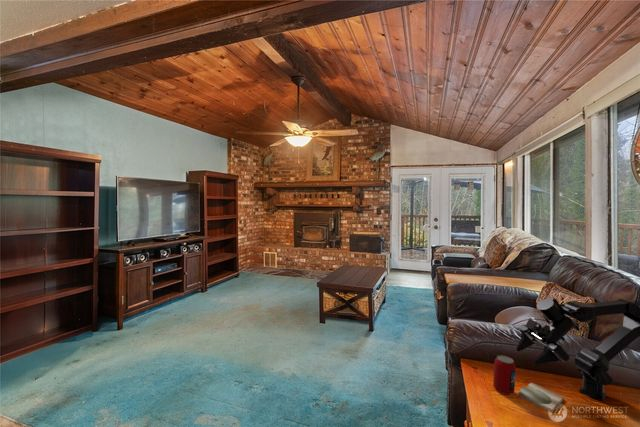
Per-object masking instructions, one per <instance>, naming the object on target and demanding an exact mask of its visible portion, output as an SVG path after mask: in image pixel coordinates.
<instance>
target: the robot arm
mask: <svg viewBox="0 0 640 427" xmlns="http://www.w3.org/2000/svg"><path fill="white" fill-rule="evenodd" d="M536 308H537V310H539V311H540V313H542V315H543V316H544V317H545V318H546V319H547V320H549V322H548V323H546V322H543V323H539V322H537V321H536V320H533V319H531V318H529V319H528V320H527V322H526V324H521V325H520V326H519V327H518V329H519V332H520V335H521V336H520V339H519V341H518V343H517V346H516V351H517V352H521V351H523V350H526V349H527V348H529V347H531V346H532V345H535V344H536V343H535V342H538V343H540V344H542V345H543V351H542V352H541V353H540V354H539V355H538V356H537V357H536V358H535V359H534V360H533V362H532V363H533V364H534V365H540V364H541V365H542V364H546V363H554V362H560V363H561V362H564V363H566V362H568V361H569V360H570V354H569V353H568V352H567V351H566V350H565V348H563V346H562V345H560V344H558V342H559V341H562V342H564V341H565V340H566V338H565V336H566V335H567V334H569V333H570V331H572V330H575V331H576V332H580V329H581V328H580V326H579V325H580V324H579V323H578V322H580V323H586V322H591V321H593V320H595V319H596V318H597V317H601V316H602V317H603V316H611V315H620V314H621V315H623V322H622V324H623V325H622V326H620V327H619V328H618V329H617V330H616V331H614V332H613V333H612V334H611V335H610V336H608V337H607V338H606V339H604V340H603V342H602V343H600V344H599V345H598V346H597V347H596V348H594V349H588V348H586V347H584V348H582V349H581V350H580V351H579V352H577V353H575V355H576V356H575V357H574V365H575V367H576V369H577V371H578V372H580V373H581V374H582V385H581V387H580V388H579V389H578V392H579V391H580V392H579V393H582V394H584V395H586V396H589V397H590V398H594V399H596V400H598V401H601V402H603V401H604V400H605V399H606V396H607V393H605V392H604V388H605V386H608V385H611V384H612V382H613V381H614V379H613V378H612V376H611V375H609V373H608V371H609V368H610V361H611V360H613V359H614V358H615V357H616V356H618V354H619V355H620V353H621V352H622V351H623V350H625V349H626V348H627V347H629V345H630V344H632V343H633V342H634V341H636V339H637V338H639V337H640V306H639V305H638V304H636V303H635V302H634V301H629V300H627V299H624V298H618V299H616V300H606V301H597V302H589V303H587V302H586V303H585V302H582V301H572V300H571V301H570V300H569V301H566V302H565V303H561V304H560V303H559V302H558V300H557V299H556V298H555V297H552V296H550V297H548V298H544V299H541V300H539V301H538V302H537V303H536ZM575 320H576V321H578V322H576V321H575Z"/></svg>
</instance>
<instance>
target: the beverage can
mask: <svg viewBox="0 0 640 427" xmlns="http://www.w3.org/2000/svg"><path fill="white" fill-rule="evenodd" d="M516 366H517V365H516V364H515V362H514V359H513V358H511V357H509V356H508V355H501V354H500V355H499V354H498V355H496V358H495V359H494V363H493V381H492V383H493V384H492V385H493V387H494V388H495V390H496V391H497V392H499V393H501V394H503V395H513V394H514V393H515V389H516V387H515V386H516V371H517V370H516V368H517V367H516Z"/></svg>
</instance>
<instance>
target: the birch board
mask: <svg viewBox="0 0 640 427" xmlns="http://www.w3.org/2000/svg"><path fill="white" fill-rule="evenodd" d="M519 390H520V391H519V392H518V394H517V396H518V397H520V398H521V399H524V400H526V401H528V402H530V403H531V404H534V405H536V406H537V407H540V408H542V407H543V408H542V409H544V408H545V409H544V410H546V409H547V410H546V411H548V410H549V411H548V412H550V411H551V412H550V413H553V412H554V411H555V410H556V408H557V407H558V406H559V405H560V404H561V403H562V402H563V401H564V396H562V395H561V394H558V393H556V392H554V391H551V390H549V389H547V388H546V387H543V386H540V385H539V384H535V383H533V382H530V383H528V385H526V386H524V387H521V388H520V389H519ZM553 410H554V411H553ZM552 411H553V412H552Z"/></svg>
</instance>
